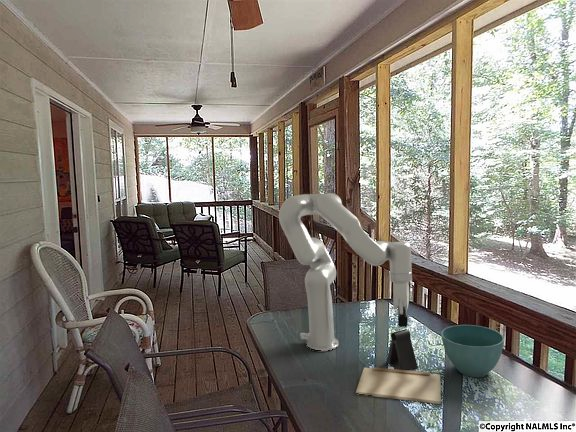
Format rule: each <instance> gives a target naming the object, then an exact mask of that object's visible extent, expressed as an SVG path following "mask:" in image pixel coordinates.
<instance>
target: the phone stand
mask: <svg viewBox="0 0 576 432" xmlns="http://www.w3.org/2000/svg"><path fill="white" fill-rule="evenodd" d="M411 336H412V335H411V331H410V330H409V329H407V328H406V329H401V330H398V331H393V332H391V334H390V339H391V341H390V344H389V348H388V349H389V350H388V353H387V358H386V363H387V364H389V365H391V366H392V367H394V369H398V370H409V371H413V370H415V369H418V368H419V366H418V363H417V358H416V354H415V351H414V346H413V343H412V339H411V338H412V337H411Z"/></svg>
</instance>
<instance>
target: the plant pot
mask: <svg viewBox="0 0 576 432" xmlns="http://www.w3.org/2000/svg"><path fill="white" fill-rule="evenodd" d="M440 333H441V340H442V345H443V348H444V350H445V353H446V355H447V358H448V359H449V360H450V362H451V364H452V365H453V366H454V367H455V369H456V370H457V371H458V372H459V373H460V374H462V375H464V376H466V377H469V378H483V377H485V376H487V375H489V373H490V372H492V371H493V369H494V368H495V367H496V366H497V364H498V362H499V360H500V359H501V356H502V353H503V349H504V344H505V343H504V340H505V339H504V338H505V337H504V335H503V334H502V333H500V332H499V331H497V330H495V329H493V328H489V327H485V326H481V325H473V324H459V325H458V324H457V325H451V326H447V327H446V328H444V329H443V330H442V331H441V332H440Z"/></svg>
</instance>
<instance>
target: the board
mask: <svg viewBox="0 0 576 432" xmlns="http://www.w3.org/2000/svg"><path fill="white" fill-rule="evenodd" d="M356 393H359V394H365V395H364V396H368V395H372V396H371V397H377V398H387V399H393V400H395V399H396V400H402V401H413V402H420V403H421V402H422V403H429V404H436V405H438V404H439V405H441V404H442V397H441V374H437V373H430V372H429V371H420V370H419V371H416V370H399V369H397V368H385V367H375V366H373V367H363V370H362V372H361V375H360V378H359V382H358V385H357V387H356V390H355V394H356ZM359 394H358V395H359Z"/></svg>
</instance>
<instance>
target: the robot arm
mask: <svg viewBox="0 0 576 432" xmlns="http://www.w3.org/2000/svg"><path fill="white" fill-rule="evenodd" d="M342 202H343V201H342V199H341V197H340V196H339V195H337V194H336V193H332V192H331V193H329V192H328V193H327V192H326V193H310V194H309V193H305V194H298V195H292V196H290V197H288V198H287V199H286V200H285V199H284V201H283V203H282V204H281V207H280V208H279V212H278V221H279V224H280V228H281V229H282V231H283V233H284V235H285V236H286V239H287V241H288V244H289V246H290V248H291V249H292V253H293V254H294V256H295V259H296V260H297V261H298V263H300V264H301V265H303V266H309V267H310V268H309V269H308V271H307V272H306V274H305V277H304V285H305V286H304V287H305V292H306V296H307V297H306V298H307V311H308V326H309V328H308V329H309V332H308V333H307V332H300V333H299V338H300V339H301V341H302V340H304V341H305V340H306V343H305V345H306V344H307V345H306V347H307V346H308V347H310V348H312V349H315V350H321V351H320V352H329V351H328V350H330V351H332V349H333V350H335V349H337V348H338V347H339V340H338V339H337V338H336V337H335V329H334V327H335V326H334V314H333V313H334V309H333V298H332V296H333V295H332V292H331V284H332V283H333V282H334V281H335V280H336V278H337V269H336V266H335V263H334V262H333V260H332V258H331V256H330V253H329V252H328V250H327V247H326V245H325V244H324V242H322V241H321V240H320V239H319V238H318V237H317V238H316V237H311V235H310V234H309V231H308V229H307V227H306V226H305V224H304V223H303V222H302V220H301V219H302V217H304V216H312V215H313V216H315V215H316V216H318V215H319V216H320V217H321V218H323V220H324V221H326V222H327V223H328V224H329V225H330V226H332V228H334V230H336V231H337V232H338V233H339V234H340V235H341V236H342V237H343V239H344V240H345V242H346V244H348V245H349V247H350V248H351V249H352V250H353V251H354V252H355V253H356V255H358V256H359V257H360V258H361V259H363V261H365V262H366V263H367V264H368V265H371V266H373V267H374V266H375V267H379V266H381V265H383V264H384V263H385V262H386V261H389V275H390V279H389V280H390V282H392V293H393V294H392V295H393V296H392V302H393V305H392V306H393V307H392V308H393V311H394V310H397V323H398V324H397V327H400V328H407V327H408V324H409V323H408V322H409V321H408V319H409V318H408V314H407V313H408V312H407V310H408V308H409V303H410V286H409V285H410V283H412V281H413V272H412V271H413V269H412V267H413V265H412V246H411V244H410V243H409V242H405V241H395V242H392V241H385V240H376V241H375V240H373V238H371V237H370V236H369V235H368V234H367V232H365V230H364V228H362V225H361V223H360V220H359V218H358V217H357V216H356V215H355V214H353V213H352V212H351V211H350V210H349V209H348V208H346V207H345V206H344V205H343V203H342ZM308 347H307V348H308ZM336 347H337V348H336Z"/></svg>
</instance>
